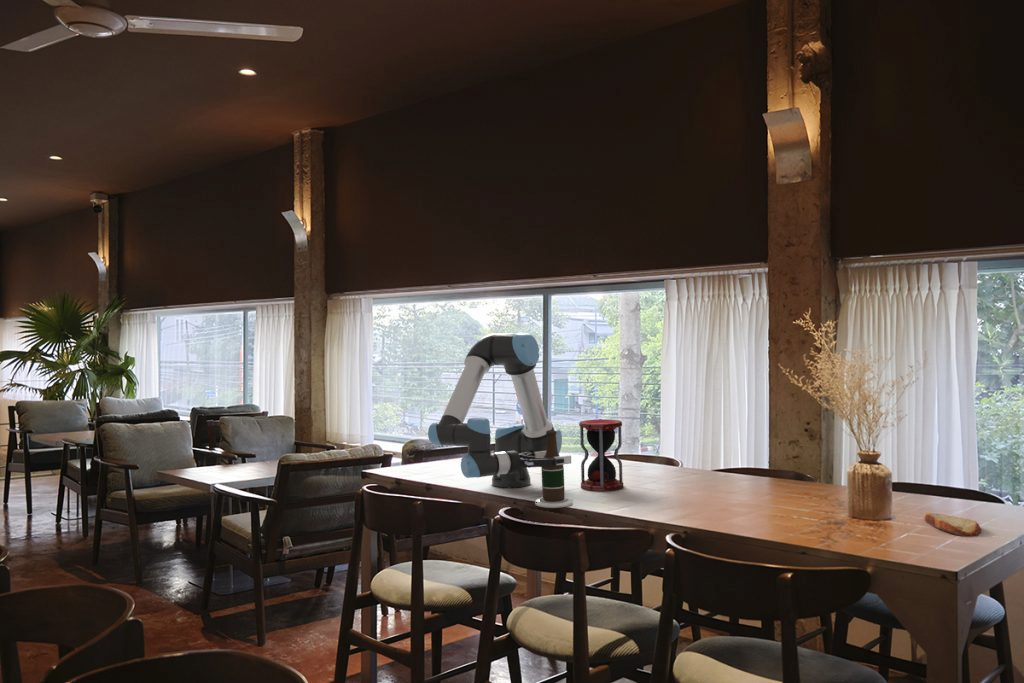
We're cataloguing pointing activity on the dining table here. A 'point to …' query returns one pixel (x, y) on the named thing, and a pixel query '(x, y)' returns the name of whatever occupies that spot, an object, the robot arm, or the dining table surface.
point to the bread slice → (953, 524)
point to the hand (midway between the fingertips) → (560, 456)
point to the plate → (554, 503)
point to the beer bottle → (552, 473)
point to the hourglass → (601, 455)
